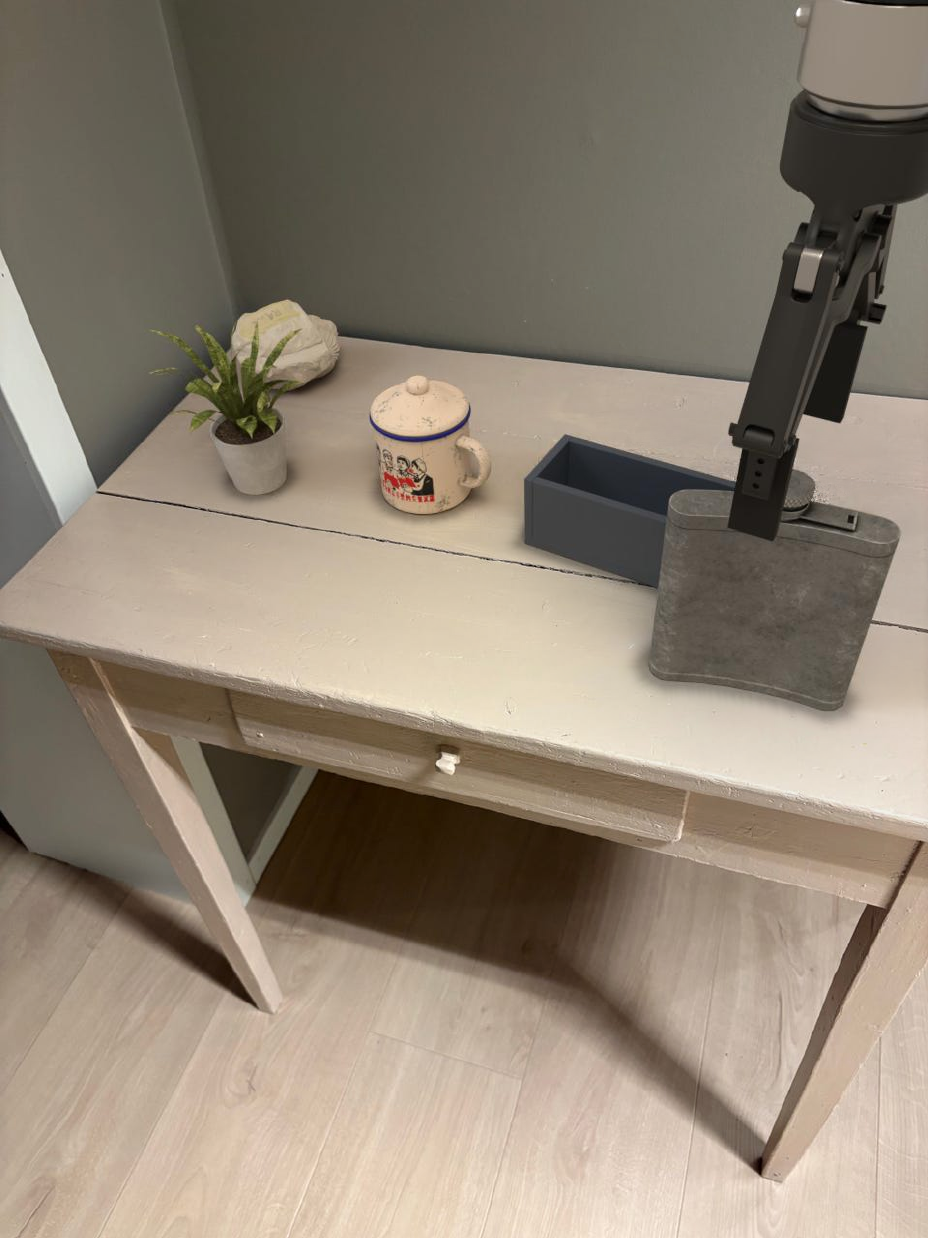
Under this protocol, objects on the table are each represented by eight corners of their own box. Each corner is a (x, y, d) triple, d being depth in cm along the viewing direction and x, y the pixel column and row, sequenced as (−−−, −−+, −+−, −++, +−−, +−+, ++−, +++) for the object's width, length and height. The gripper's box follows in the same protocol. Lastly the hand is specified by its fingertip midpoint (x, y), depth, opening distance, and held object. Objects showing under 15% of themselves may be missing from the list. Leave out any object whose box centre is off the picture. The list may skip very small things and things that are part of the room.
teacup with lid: (360, 497, 91) (343, 389, 83) (419, 450, 96) (408, 344, 88) (461, 540, 86) (454, 429, 78) (518, 489, 91) (517, 379, 83)
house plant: (147, 514, 91) (92, 358, 80) (212, 434, 100) (171, 284, 89) (285, 534, 88) (248, 374, 76) (339, 449, 97) (313, 296, 86)
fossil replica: (362, 361, 110) (288, 355, 114) (349, 289, 105) (273, 285, 109) (307, 407, 102) (230, 399, 106) (291, 331, 97) (211, 325, 100)
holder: (746, 554, 83) (759, 488, 78) (714, 607, 78) (726, 541, 73) (563, 497, 90) (564, 433, 85) (524, 543, 85) (523, 478, 80)
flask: (653, 643, 75) (677, 451, 63) (845, 678, 72) (910, 482, 59) (645, 676, 73) (669, 483, 61) (843, 714, 69) (911, 517, 57)
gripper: (865, 21, 53) (791, 363, 68) (700, 172, 39) (652, 568, 53) (1010, 33, 51) (900, 388, 65) (892, 202, 36) (785, 612, 50)
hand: (788, 470), depth 59 cm, fingers open, 13 cm apart
